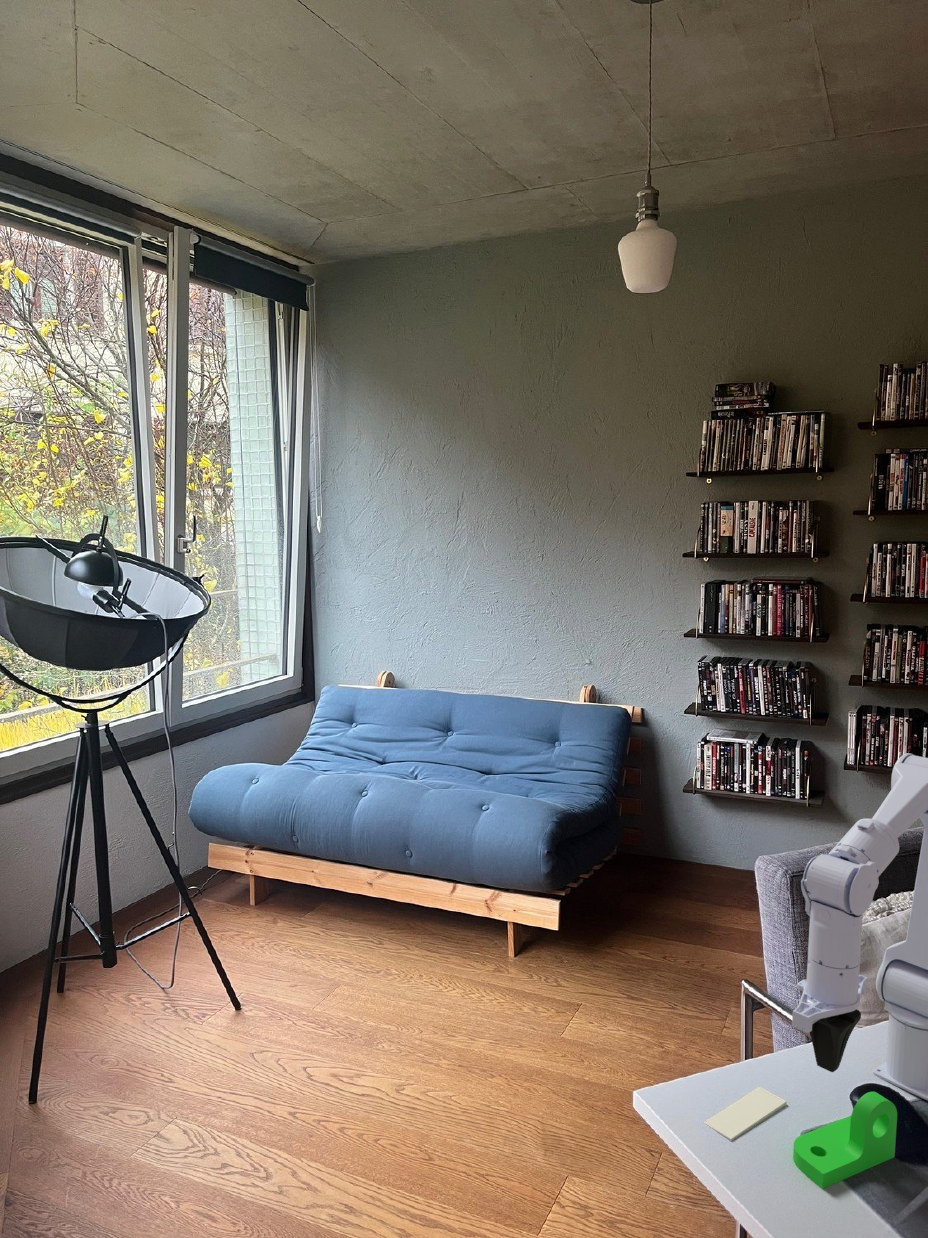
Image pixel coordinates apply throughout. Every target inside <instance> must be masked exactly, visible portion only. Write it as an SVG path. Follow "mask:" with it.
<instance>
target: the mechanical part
mask: <svg viewBox="0 0 928 1238" xmlns="http://www.w3.org/2000/svg"><path fill="white" fill-rule="evenodd" d="M897 1123H898V1110H897V1107H896V1105H895V1104H894V1103H893V1102H892V1101H890V1100H889V1099H887V1098H885V1097H884V1096H883V1095H881V1094H879V1093H878V1092H876V1091H869V1092H866V1093H864V1094H863V1095H862V1096H861V1097H860V1098H859V1099H858V1101H857V1102H856V1103H855V1105H854V1107H853V1109H852V1112H851V1115H849V1116H847V1117H843V1118H842V1119H838V1120H836V1121H834V1122H831V1123H829V1124H826V1125H824V1126H821V1127H819V1128H816V1129H813V1130H811V1131H808V1132H806V1133H804V1134H800V1135H799V1136H797V1137H796V1138H795V1140H794V1141H793V1147H792V1148H793V1149H792V1151H793V1152H792V1153H793V1154H792V1160H793V1163H794V1165H795V1166H796V1168H797V1169H798V1170H799V1171H800V1172H802V1174H804V1175H805V1176H806V1177H807V1178H808V1179H809V1180H811V1181H812V1182H813V1183H814V1184H815V1185H817V1186H818V1187H819V1188H820V1189H821V1190H822V1189H825V1188H828V1187H830V1186H832V1185H835V1184H837V1183H839V1182H841V1181H843V1180H846V1179H848V1178H850V1177H853V1176H855V1175H857V1174H859V1173H862V1172H864V1171H866V1170H869V1169H871V1168H874V1167H875V1166H877V1165H880V1164H883V1163H884V1162H887V1161H889V1160H891V1159H894V1158H895V1155H896V1154H895V1153H896V1142H897V1141H896V1140H897V1139H896V1138H897V1127H898V1126H897Z"/></svg>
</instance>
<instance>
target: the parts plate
mask: <svg viewBox="0 0 928 1238" xmlns="http://www.w3.org/2000/svg"><path fill="white" fill-rule="evenodd" d="M787 1103H788V1102H787V1100H785V1099H783V1098H781V1097H779V1096H777V1095H776V1094H774V1093H772V1092H770V1091H768V1090H766V1089H765V1088H763V1087H761V1086H758V1087H756V1088H755V1089H753V1090H752V1091H750V1092H749V1093H747V1094H745V1095H743V1097H741V1098H740V1099H738V1100H736V1101H735V1102H733V1103H731V1104H730V1105H728V1106H727V1107H725V1108H723V1109H722V1110H720V1111H719V1112H717V1113H716V1114H714V1115H712V1116H711V1117H710V1118H708V1119H706V1120H705V1121H703V1124H705V1125H706V1126H708V1127H709V1128H711V1129H712V1130H713V1131H714V1132H717V1133H718V1134H719V1135H720V1136H722V1137H725V1139H727V1140H728V1141H731V1142H732V1141H733V1140H735V1139H736V1138H738V1137H739V1136H741V1135H742V1134H744V1133H746V1132H747V1131H749V1130H750V1129H752V1128H753V1127H754V1126H756V1125H758V1124H760V1123H761V1122H762V1121H764V1120H765V1119H766V1118H768V1117H770V1116H771V1115H773V1114H775V1113H776V1112H777V1111H779V1110H780V1109H782V1108H783V1107H785V1106H787ZM706 1121H707V1122H706Z"/></svg>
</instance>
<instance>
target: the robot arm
mask: <svg viewBox="0 0 928 1238" xmlns="http://www.w3.org/2000/svg"><path fill="white" fill-rule="evenodd" d="M890 780H891V781H890V789H891V790H890V791H889V793H888V794H887V796H886V797H885V799H884V800H883V801H882V803H881V804H880V806H879V807H878V809H877V811H876V812H875V813H874V815H873V816H872V817H871V818H861V819H859V820H857V821H856V822H855V823H854V825H852V827H851V828H850V829H849V830H848V831H847V832H846V833H845V834H844V836H843V837H842V838H841V839H840V840H839V841H838V843H836V845H835V846H834V847H833V848H832V849H831V850H830V851H829V852H828V854H827V853H823V854H821V853H820V854H819V855H815V856H813V857H811V858H810V860H809V861H808V862H807V864H806V866H805V869H804V872H803V876H802V879H801V881H800V887H801V888H800V889H801V892H802V895H803V897H804V900H805V909H804V910H805V912H806V915H808V916H809V928H808V930H809V931H808V945H807V946H808V947H807V965H806V966H807V967H806V978H805V979H802V980H800V981H799V982H797V984H796V985H797V986H796V987H797V990H798V991H800V992H802V994H801V997H800V1000H799V1003H798V1005H797V1007H796V1008H795V1009H793V1010H792V1021H791V1027H792V1028H794V1029H797V1030H799V1031H802V1032H804V1033H805V1034H809V1036H810V1039H811V1044H812V1046H813V1052H814V1058H815V1060H816V1065H817V1067H820V1068H821V1069H824V1070H826V1071H828V1072H830V1073H834V1072H835V1071H837V1070H838V1069H839V1067H840V1064H841V1062H842V1059H843V1057H844V1053H845V1049H846V1046H847V1044H848V1041H849V1039H850V1036H851V1035H852V1033H853V1031H854V1028H855V1027H856V1026H857V1024H858V1023H859V1022H860V1020H861V1018H862V1012H861V1011H860V1010H859V1009H858V1008H859V1007H860V1003H861V1000H862V999H861V998H862V995H865V994H867V992H868V982H869V981H868V980H869V979H868V977H867V976H865V975H861V974H860V970H861V969H860V968H861V966H860V964H861V951H862V949H861V948H862V933H863V915H864V914H865V913H866V912H867V911H868V910H869V908H870V906H871V905H872V902H873V899H874V896H875V892H876V890H877V889H878V887H879V884H880V882H879V877H880V876H881V874H882V873H884V871H885V870H886V869H887V867H888V866H889V865H890V864H891V863H892V861H893V860H894V859H895V858H896V856H897V855H898V854H899V851H900V842H899V839H898V838H899V837H900V836H901V835H902V834H904V833H905V832H906V831H907V830H908V829H909V828H910V827H911V826H912V825H913V824H914V823H915V822H916V821H918V819H920V821H921V823H922V825H923V827H924V828H923V835H922V841H921V847H920V852H919V853H920V854H919V858H918V865H917V871H916V877H915V883H914V889H913V896H912V901H911V909H910V914H909V919H908V926H907V932H906V938H905V940H902V941H899V942H896V943H894V944H892V945H890V946H888V947H887V948H885V951H884V955H883V959H882V962H881V964H880V967H879V969H878V971H877V974H876V980H875V989H876V992H877V996H878V998H879V999H880V1001H882V1002H883V1003H884V1010H885V1011H887V1012H888V1024H887V1025H888V1027H887V1029H888V1030H887V1042H886V1043H887V1044H886V1045H887V1046H886V1059H885V1061H884V1062H883V1063H882V1064H880V1065H878V1067H876V1068H874V1069H873V1070H872V1074H873V1075H874V1076H875V1077H877V1078H880V1079H881V1080H884V1081H886V1082H887V1083H889V1084H892V1085H893V1086H896V1087H898V1088H900V1089H902V1090H904V1091H906V1092H908V1093H911V1094H913V1095H915V1096H917V1097H919V1098H921V1099H923V1100H926V1101H928V757H925V756H924V757H923V756H919V755H915V754H913V753H909V752H908V753H907V752H906V753H904V754H902V755H901V756H900V757H899V758H898V759H897V760H896V762H895V764H894V765H893V768H892V772H891V779H890Z"/></svg>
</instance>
